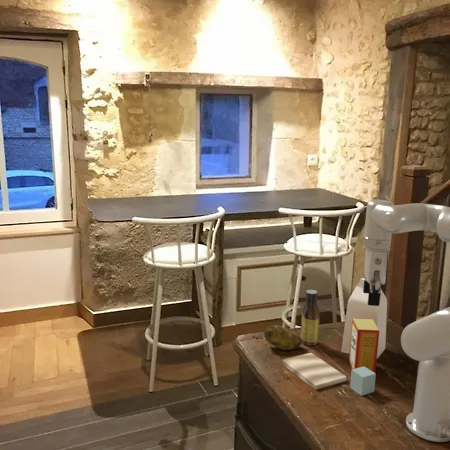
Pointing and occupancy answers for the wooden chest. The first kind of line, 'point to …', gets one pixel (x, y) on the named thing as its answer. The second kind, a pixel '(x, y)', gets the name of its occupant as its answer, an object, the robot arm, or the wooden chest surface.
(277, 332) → the potato
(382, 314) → the milk
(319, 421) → the wooden chest surface
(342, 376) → the birch board
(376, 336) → the baking soda box
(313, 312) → the sauce bottle
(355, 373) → the teal block
